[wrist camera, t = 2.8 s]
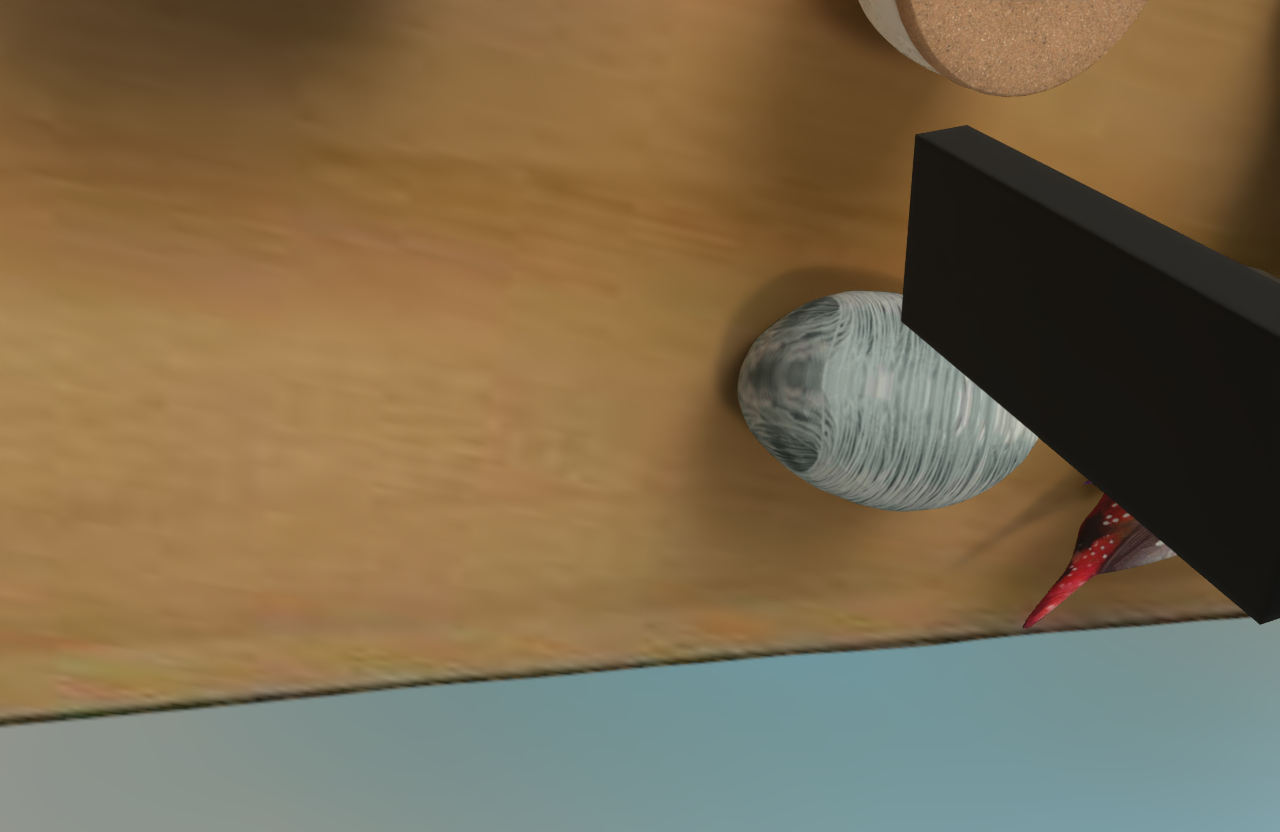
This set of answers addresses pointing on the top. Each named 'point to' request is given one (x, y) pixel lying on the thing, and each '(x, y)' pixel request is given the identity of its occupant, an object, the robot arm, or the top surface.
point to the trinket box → (1003, 38)
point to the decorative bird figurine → (1103, 552)
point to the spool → (874, 408)
